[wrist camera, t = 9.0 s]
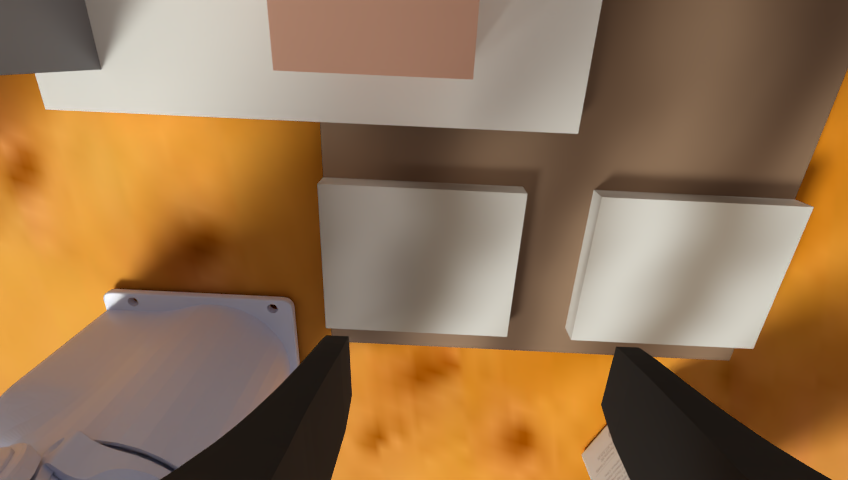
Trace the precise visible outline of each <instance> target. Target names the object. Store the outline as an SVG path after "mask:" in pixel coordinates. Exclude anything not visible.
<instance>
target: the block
mask: <svg viewBox="0 0 848 480" xmlns="http://www.w3.org/2000/svg"><path fill="white" fill-rule="evenodd" d="M479 1H480V0H267V9H268V20H269V31H270V42H271V52H272V63H273V70H274V71H296V72H318V73H340V74H362V75H384V76H406V77H428V78H450V79H472V80H473V74H474V62H475V50H476V38H477V25H478V13H479Z"/></svg>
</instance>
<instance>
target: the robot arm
mask: <svg viewBox="0 0 848 480" xmlns="http://www.w3.org/2000/svg"><path fill="white" fill-rule="evenodd" d="M133 298H135V299H136V300H137V301H138V302H136V301H135V300H134V299H133ZM104 302H105V306H106V309H107V311H106V312H104V313H103V314H102V315H100V316H99V317H98V318H97V319H95V320H94V321H93V322H92V323H90V324H89V325H88V326H87V327H85V328H84V329H83V330H82V331H80V332H79V333H78V334H76V335H75V336H74V337H73V338H71V339H70V340H69V341H68V342H66V343H65V344H64V345H63V346H61V347H60V348H59V349H57V350H56V351H55V352H54V353H52V354H51V355H50V356H49V357H47V358H46V359H45V360H44V361H42V362H41V363H40V364H38V365H37V366H36V367H35V368H33V369H32V370H31V371H30V372H28V373H27V374H26V375H25V376H23V377H22V378H21V379H20V380H18V381H17V382H16V383H14V384H13V385H12V386H11V387H10V388H9V389H8V390H7V391H6V392H5V393H3V394H2V396H1V397H0V480H331V477H332V474H333V471H334V467H335V464H336V461H337V457H338V454H339V451H340V447H341V444H342V441H343V437H344V434H345V430H346V425H347V419H348V414H349V408H350V402H351V397H352V389H351V370H350V351H349V336H329V335H326V336H325V337H324V338H323V339H322V340H321V341H320V342H319V343H318V345H317V346H316V347H315V348H314V349H313V350H312V351H311V352H310V354H309V355H308V356H307V357H306V358H305V359H304V360H303V361H302V362H301V364H300V360H299V349H298V338H297V327H296V317H295V306H294V303H293V301H292V300H291V299H289V298H286V297H275V296H254V295H234V294H213V293H192V292H171V291H151V290H130V289H111V290H110V291H108V292H107V293H106V294H105V295H104ZM270 304H273V305H275V306H277V308H278V309H274V308H272V307H271V306H270ZM601 406H602V409H603V412H604V416H605V419H606V422H607V426H608V429H609V432H610V435H611V438H612V441H613V443H614V446H615V448H616V450H617V453H618V455H619V457H620V459H621V461H622V464H623V466H624V468H625V470H626V472H627V475H628V477H629V479H630V480H831V479H830V478H828V477H826V476H824V475H823V474H821V473H819V472H817V471H816V470H814V469H812V468H810V467H809V466H807V465H805V464H804V463H802V462H801V461H799V460H797V459H796V458H794V457H792V456H791V455H789V454H787V453H786V452H784V451H783V450H781V449H779V448H778V447H776V446H774V445H773V444H771V443H770V442H768V441H767V440H765V439H764V438H762V437H761V436H759V435H758V434H756V433H755V432H753V431H752V430H750V429H749V428H747V427H746V426H745V425H743V424H742V423H740V422H739V421H737V420H736V419H734V418H733V417H732V416H730V415H729V414H727V413H726V412H725V411H723V410H722V409H720V408H719V407H718V406H716V405H715V404H714V403H712V402H711V401H710V400H708V399H707V398H706V397H704V396H703V395H702V394H700V393H699V392H698V391H696V390H695V389H694V388H692V387H691V386H690V385H688V384H687V383H686V382H684V381H683V380H682V379H681V378H679V377H678V376H677V375H675V374H674V373H673V372H672V371H670V370H669V369H668V368H666V367H665V366H664V365H662V364H661V363H660V362H658V361H657V360H656V359H655V358H653V357H652V356H651V355H649V354H648V353H646V352H645V351H643V350H642V349H641V348H639V347H616V349H615V353H614V357H613V361H612V365H611V369H610V372H609V376H608V380H607V384H606V388H605V392H604V396H603V400H602V404H601Z"/></svg>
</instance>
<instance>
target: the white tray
mask: <svg viewBox="0 0 848 480" xmlns="http://www.w3.org/2000/svg"><path fill="white" fill-rule="evenodd" d="M601 5H602V0H480V1H479V13H478V25H477V38H476V50H475V62H474V74H473V80H472V79H450V78H428V77H406V76H384V75H362V74H340V73H318V72H296V71H274V70H273V63H272V52H271V42H270V31H269V20H268V9H267V0H0V75H12V74H30V73H35V76H36V79H37V82H38V86H39V89H40V92H41V96H42V99H43V102H44V106H45V109H49V110H70V111H92V112H114V113H135V114H157V115H179V116H201V117H222V118H244V119H266V120H287V121H309V122H331V123H352V124H374V125H396V126H418V127H439V128H461V129H483V130H504V131H526V132H548V133H569V134H578V132H579V126H580V121H581V115H582V110H583V104H584V99H585V93H586V88H587V82H588V77H589V71H590V66H591V60H592V55H593V49H594V44H595V38H596V33H597V27H598V22H599V16H600V11H601Z"/></svg>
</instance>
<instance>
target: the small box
mask: <svg viewBox="0 0 848 480" xmlns="http://www.w3.org/2000/svg"><path fill="white" fill-rule="evenodd" d="M582 457H583V460H584V463H585V465H586V468H587V471H588V473H589V476H590V479H591V480H630V479H629V477H628V475H627V472H626V470H625V468H624V466H623V464H622V461H621V459H620V457H619V455H618V453H617V450H616V448H615V446H614V443H613V441H612V438H611V435H610V432H609V429H608V426H607V425H606V427H605V428H604V429H603V430H602V431H601V432H600V433H599V435H598V436H597V437H596V438H595V439H594V440H593V442H592V443H591V444H590V445H589V446H588V447H587V449H586V450H585V451H584V452H583V453H582Z"/></svg>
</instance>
